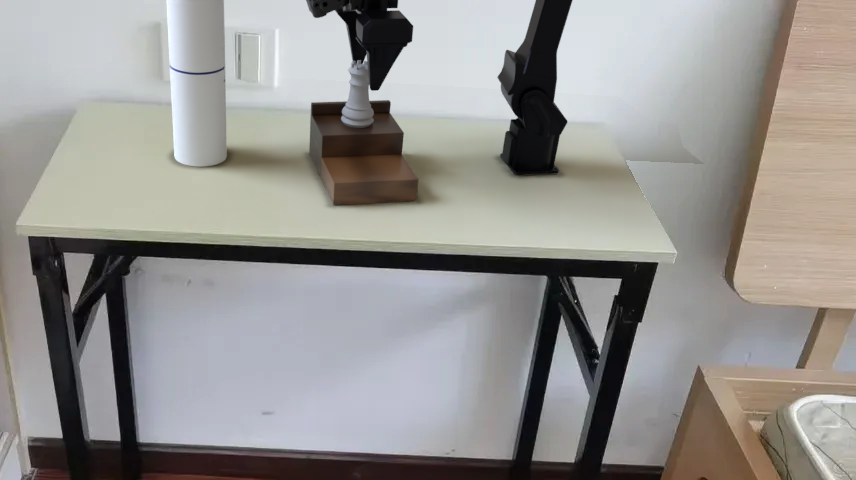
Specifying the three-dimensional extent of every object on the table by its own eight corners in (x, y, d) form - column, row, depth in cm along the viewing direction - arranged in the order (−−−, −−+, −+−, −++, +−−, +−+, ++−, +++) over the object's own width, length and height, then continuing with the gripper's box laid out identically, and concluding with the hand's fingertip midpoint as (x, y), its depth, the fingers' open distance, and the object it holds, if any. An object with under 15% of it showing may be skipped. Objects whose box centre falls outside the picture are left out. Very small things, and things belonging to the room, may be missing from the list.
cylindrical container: (164, 160, 131) (153, -34, 116) (190, 141, 136) (182, -46, 122) (211, 170, 129) (205, -26, 114) (235, 151, 134) (233, -38, 120)
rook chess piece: (341, 115, 131) (344, 56, 126) (373, 117, 131) (378, 58, 126) (340, 127, 127) (343, 67, 123) (373, 130, 127) (378, 70, 123)
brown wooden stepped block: (385, 151, 137) (389, 99, 133) (416, 200, 124) (422, 145, 120) (309, 154, 135) (310, 102, 130) (333, 205, 122) (336, 149, 118)
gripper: (294, -66, 123) (292, 56, 132) (324, -29, 108) (319, 105, 117) (379, -66, 125) (371, 54, 134) (419, -30, 110) (407, 102, 119)
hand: (365, 77), depth 126 cm, fingers open, 9 cm apart
